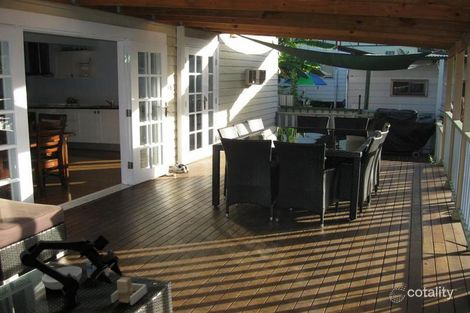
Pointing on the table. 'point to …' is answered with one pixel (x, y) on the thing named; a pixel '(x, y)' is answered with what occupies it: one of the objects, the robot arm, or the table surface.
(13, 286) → the table surface
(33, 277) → the table surface
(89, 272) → the light bulb box
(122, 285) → the maple block
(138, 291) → the trap trough
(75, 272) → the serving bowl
